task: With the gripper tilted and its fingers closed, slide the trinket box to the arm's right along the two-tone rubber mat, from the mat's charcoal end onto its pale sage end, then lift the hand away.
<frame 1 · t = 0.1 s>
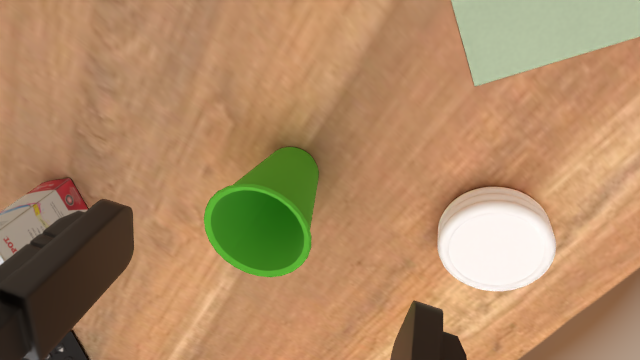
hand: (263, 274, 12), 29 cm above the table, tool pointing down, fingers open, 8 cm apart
ink box: (74, 208, 56), on the table
cup: (294, 167, 46), on the table
white round stack: (491, 227, 44), on the table
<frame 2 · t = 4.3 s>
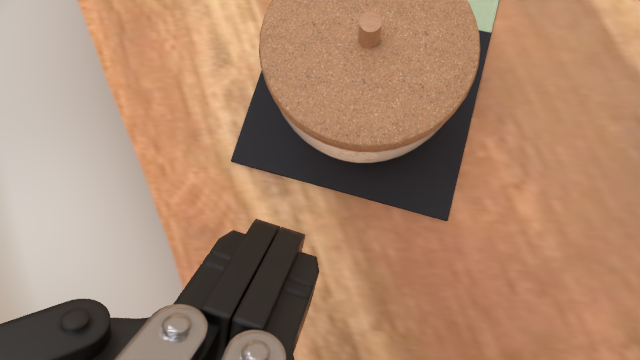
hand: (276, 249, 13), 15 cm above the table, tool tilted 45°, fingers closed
trinket box: (361, 103, 30), resting on runner mat
runner mat: (388, 10, 31), on the table
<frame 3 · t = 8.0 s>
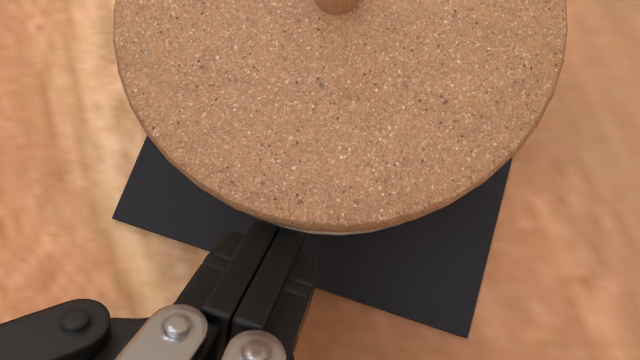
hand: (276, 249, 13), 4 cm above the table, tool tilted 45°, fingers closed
trinket box: (335, 118, 18), resting on runner mat, touching gripper
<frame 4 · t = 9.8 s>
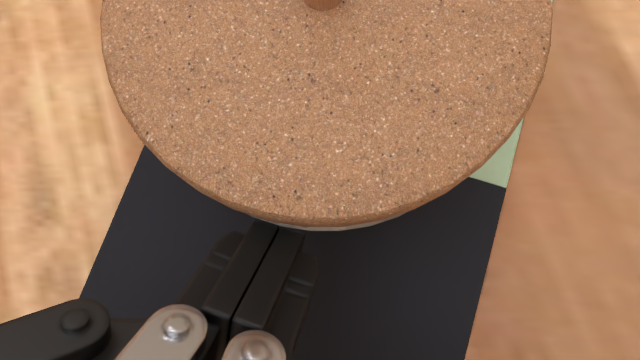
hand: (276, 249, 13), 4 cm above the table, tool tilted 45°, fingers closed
trinket box: (327, 116, 18), resting on runner mat, touching gripper
runner mat: (331, 136, 18), on the table
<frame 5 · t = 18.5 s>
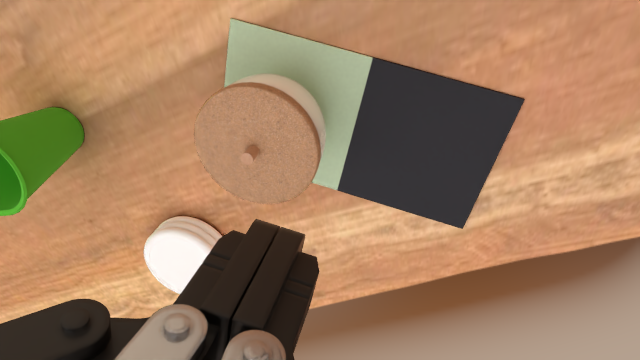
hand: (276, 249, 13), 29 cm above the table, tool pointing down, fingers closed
cup: (65, 127, 51), on the table
white round stack: (195, 247, 56), on the table
trinket box: (283, 113, 44), resting on runner mat
runner mat: (353, 129, 43), on the table
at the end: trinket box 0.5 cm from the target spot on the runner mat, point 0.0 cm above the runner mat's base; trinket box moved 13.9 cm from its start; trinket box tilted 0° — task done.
